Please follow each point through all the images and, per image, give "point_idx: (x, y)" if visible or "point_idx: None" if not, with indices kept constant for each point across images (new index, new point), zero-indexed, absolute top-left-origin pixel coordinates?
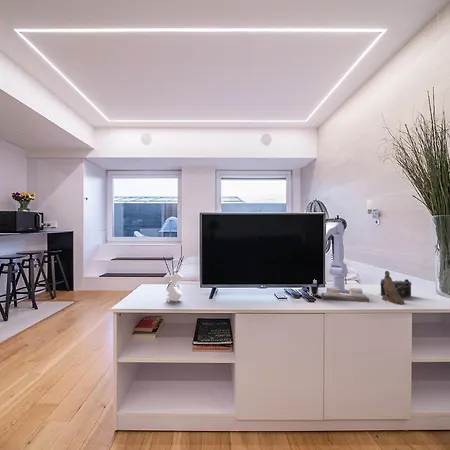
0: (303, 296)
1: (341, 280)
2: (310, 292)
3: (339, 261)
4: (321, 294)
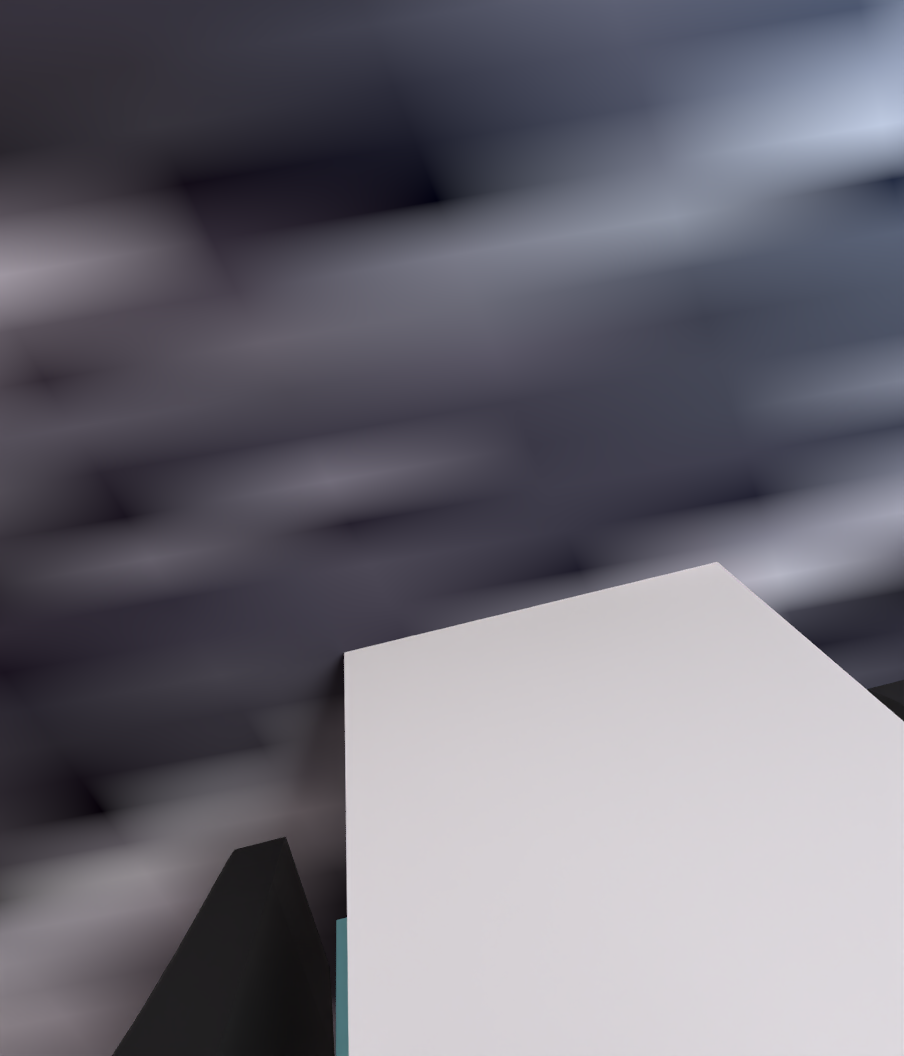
0: (231, 356)
1: None
2: (348, 776)
3: None
4: None
